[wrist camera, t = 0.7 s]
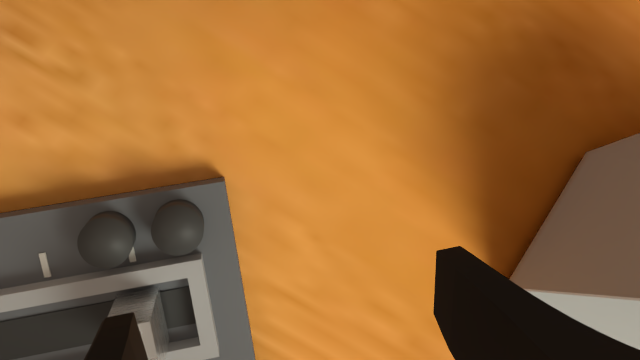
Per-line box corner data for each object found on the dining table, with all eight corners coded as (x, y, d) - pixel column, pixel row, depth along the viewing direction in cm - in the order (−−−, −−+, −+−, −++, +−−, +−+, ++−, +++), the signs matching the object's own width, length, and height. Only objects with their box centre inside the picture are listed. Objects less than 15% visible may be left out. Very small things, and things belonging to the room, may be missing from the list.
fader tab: (169, 338, 29) (160, 387, 25) (128, 346, 29) (112, 398, 24) (158, 286, 29) (148, 327, 24) (117, 294, 28) (98, 337, 24)
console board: (259, 386, 32) (263, 413, 30) (-176, 480, 29) (-212, 519, 27) (224, 176, 30) (224, 187, 27) (-258, 255, 27) (-307, 275, 24)
